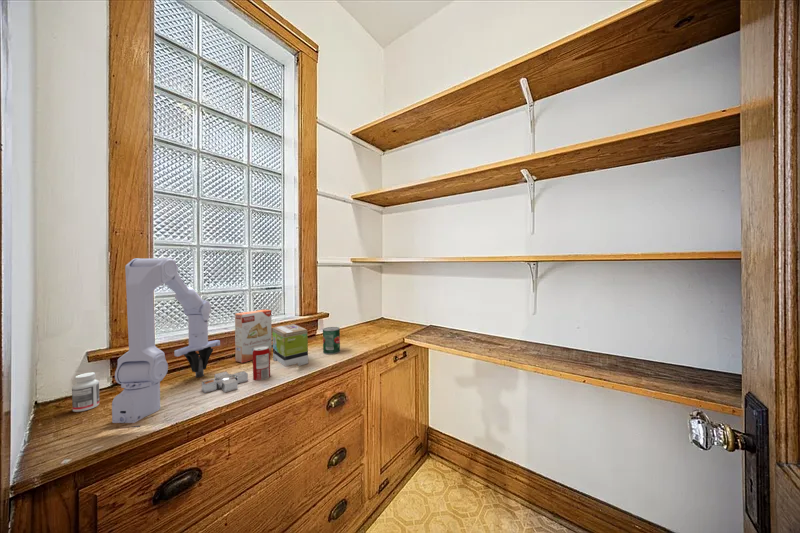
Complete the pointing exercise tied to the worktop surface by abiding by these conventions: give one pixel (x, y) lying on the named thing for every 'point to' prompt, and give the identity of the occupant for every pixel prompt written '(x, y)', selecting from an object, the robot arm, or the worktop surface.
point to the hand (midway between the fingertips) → (199, 370)
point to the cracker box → (251, 333)
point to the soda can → (261, 363)
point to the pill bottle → (85, 392)
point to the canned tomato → (331, 340)
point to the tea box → (290, 345)
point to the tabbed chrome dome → (224, 381)
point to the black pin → (200, 368)
